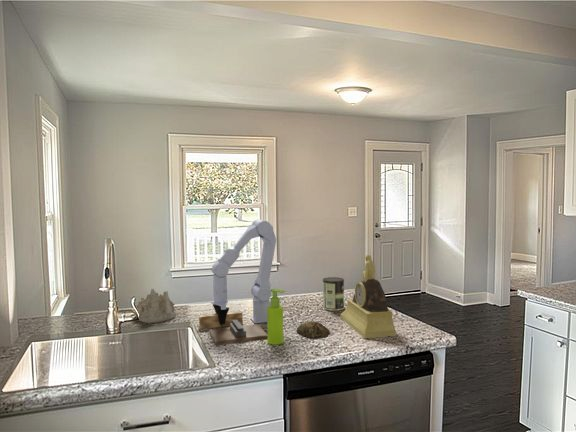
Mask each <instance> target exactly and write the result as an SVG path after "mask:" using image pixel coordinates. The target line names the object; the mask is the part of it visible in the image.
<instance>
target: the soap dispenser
mask: <svg viewBox="0 0 576 432" xmlns="http://www.w3.org/2000/svg"><path fill="white" fill-rule="evenodd" d="M270 291H271V293H272V296H271V297H270V298H269V299H270V304H271V306H269V307H267V322H266V323H267V335H268V338H267V344H270V345H274V346H276V345H282V344H283V343H284V307H283V306H281V305H280V303H281V302H280V297H279V296H278V293H280V294H283V293H285V292H286V291H285V290H284V289H279V288H273V289H270Z"/></svg>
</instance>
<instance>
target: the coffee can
mask: <svg viewBox="0 0 576 432" xmlns="http://www.w3.org/2000/svg"><path fill="white" fill-rule="evenodd" d="M322 295H323V297H322V299H323V300H322V304H323V306H322V307H323V310H326V311H330V312H331V311H342V310H344V309H345V279H344V278H342V277H339V276H338V277H336V276H333V277H332V276H331V277H330V276H329V277H324V278H322Z"/></svg>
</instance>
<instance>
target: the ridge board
mask: <svg viewBox="0 0 576 432" xmlns="http://www.w3.org/2000/svg"><path fill="white" fill-rule="evenodd" d="M209 334H210V336H211V338H212V340H213V342H214V344H215V345H216V346H217V345H222V344H223V345H225V344H232V343H240V342H241V343H242V342H249V341H256V340H264V339H265V340H266V339H268V333H267V332H265V331H264V330H263V329H262V327H261V326H260V325H259V323H254V324H248V325H243V324H240V322H238V320H232V323H230V326H227V327H218V328H213V329H212V328H210V329H209Z"/></svg>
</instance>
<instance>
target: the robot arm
mask: <svg viewBox="0 0 576 432" xmlns="http://www.w3.org/2000/svg"><path fill="white" fill-rule="evenodd" d="M258 237H259V238H260V240H261V241H263V245H262V251H261V257H260V261H259V267H258V273H257V277H256V278H255V280H254V283H253V286H252V287H251V290H250V291H251V295H252V296H253V298H252V317H250V319H251V321H252V322H253V323H254V324H261V323H267V307H269V306H271V304H270V298H272V296H271V295H272V291H270V290H271V286H272V285H271V282H270V276H271V271H272V267H273V260H274V255H275V252H276V251H275V250H276V246H277V245H276V244H277V238H276V234H275V231H274V227H273V225H272V224H271V223H270V222H269V221H268V220H262V219H256V220H253V222H252V223H251V224H250V225H248V227H247V229H246V230H245V232H244V233H243V234H242V235H241V237H240V238H239V239H238V240H237V242H236V243H235V245H233V247H229V248H228V249H227V248H226V249H225V250H224V254H223V255H222V256H221V257H220V258H217V261H216V262H214V263H213V265H212V266H211V267H212V268H210V269H211V272H212V274H213V278H212V279H213V283H212V284H213V285H212V286H213V300H211V301H210V304H212V307H213V309H214V311H215V314H218V319H219V323H220V325H222V324H225V321H226V316H227V313H228V312H230V308H229V307H228V306H227V304H228V302H229V299H228V278H227V277H228V276H227V275H228V274H229V269H230V268H231V267H233V265H234V264H235V262H236V261H237V260H238V259H239V257H240V252H241V251H242V250H243V248H244V247H246V245H247V244H248V243H249V242H250V241H251V240H252V239H256V238H258Z"/></svg>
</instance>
